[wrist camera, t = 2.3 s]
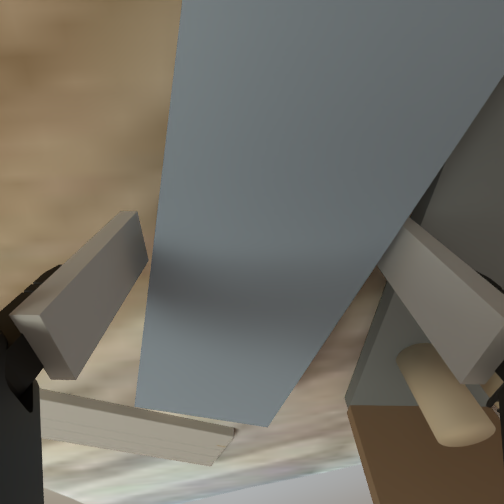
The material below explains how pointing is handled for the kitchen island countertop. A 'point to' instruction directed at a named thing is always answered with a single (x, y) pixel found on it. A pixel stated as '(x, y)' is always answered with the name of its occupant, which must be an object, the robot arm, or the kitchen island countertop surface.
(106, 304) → the robot arm
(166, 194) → the shelf board
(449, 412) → the peg shelf
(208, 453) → the baseboard
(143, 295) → the kitchen island countertop surface
